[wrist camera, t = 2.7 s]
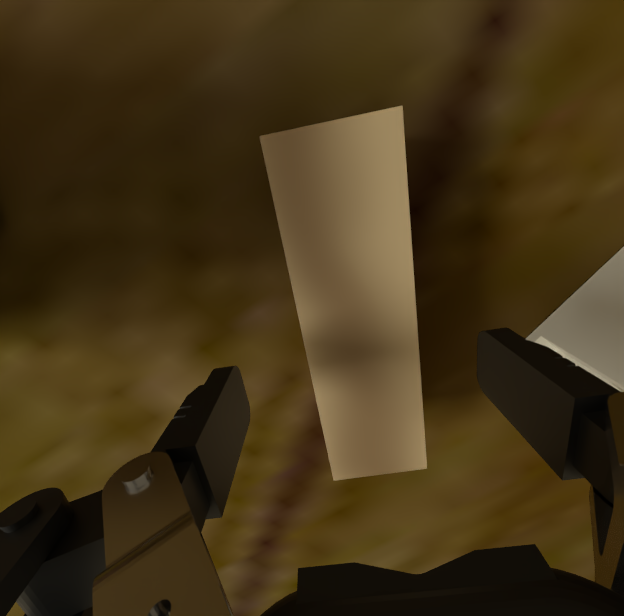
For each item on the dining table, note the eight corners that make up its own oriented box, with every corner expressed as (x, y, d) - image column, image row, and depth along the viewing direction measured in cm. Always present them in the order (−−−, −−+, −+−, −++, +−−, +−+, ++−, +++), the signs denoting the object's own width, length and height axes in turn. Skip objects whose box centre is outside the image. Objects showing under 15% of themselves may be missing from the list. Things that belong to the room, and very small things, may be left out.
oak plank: (372, 136, 14) (402, 105, 9) (398, 401, 19) (426, 468, 14) (277, 156, 14) (259, 135, 9) (328, 411, 19) (333, 480, 14)
